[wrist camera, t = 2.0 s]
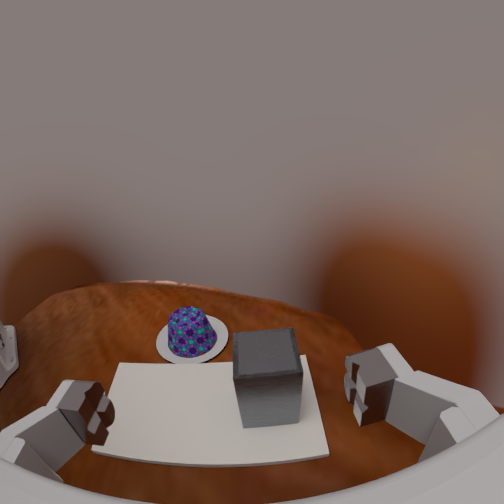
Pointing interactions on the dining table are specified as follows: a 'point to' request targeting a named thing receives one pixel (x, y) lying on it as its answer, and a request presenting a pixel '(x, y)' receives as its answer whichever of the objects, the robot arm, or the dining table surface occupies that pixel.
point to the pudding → (191, 336)
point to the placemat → (202, 420)
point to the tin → (267, 377)
